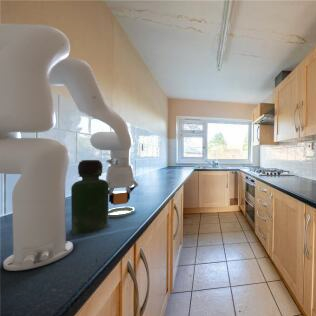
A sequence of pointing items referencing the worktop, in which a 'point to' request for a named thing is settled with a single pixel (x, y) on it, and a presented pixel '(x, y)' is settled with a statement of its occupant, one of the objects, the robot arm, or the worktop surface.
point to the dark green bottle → (89, 199)
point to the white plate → (120, 211)
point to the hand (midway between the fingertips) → (119, 202)
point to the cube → (120, 197)
